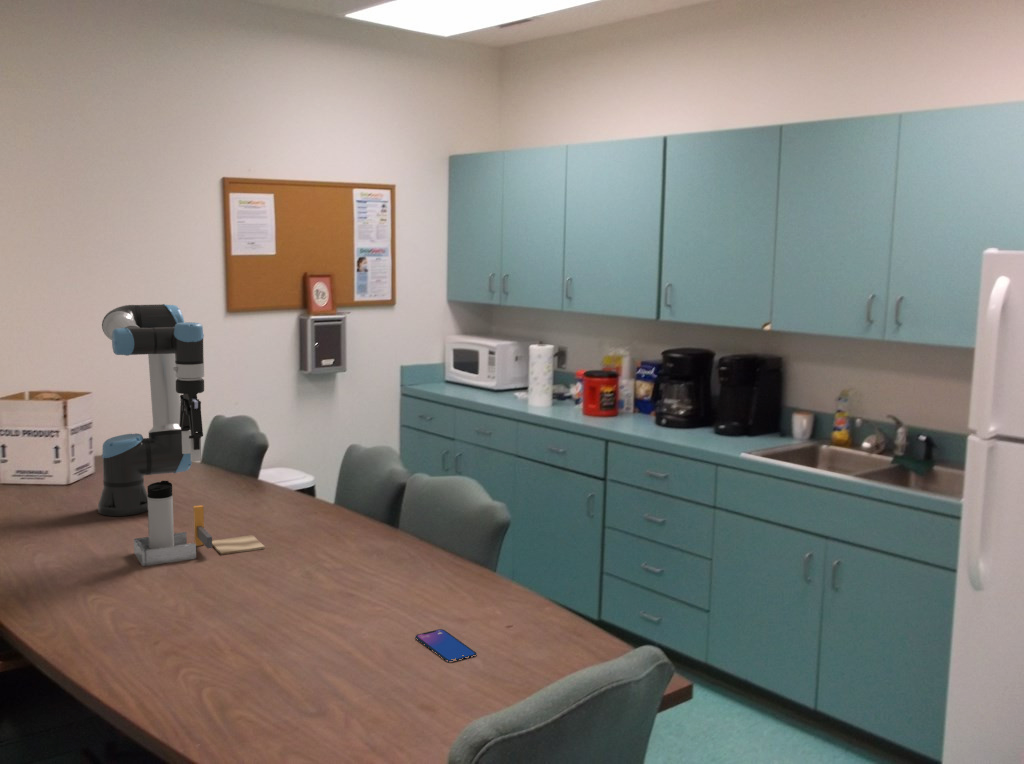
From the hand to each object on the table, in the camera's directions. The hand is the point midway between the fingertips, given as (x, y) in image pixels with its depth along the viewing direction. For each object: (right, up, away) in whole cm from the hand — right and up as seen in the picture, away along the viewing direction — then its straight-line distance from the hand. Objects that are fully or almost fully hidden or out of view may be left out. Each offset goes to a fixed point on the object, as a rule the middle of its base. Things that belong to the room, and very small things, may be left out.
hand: (191, 457), depth 265 cm
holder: (-3, -25, -13) cm, 29 cm away
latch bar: (+6, -25, -7) cm, 27 cm away
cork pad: (+14, -24, -3) cm, 28 cm away
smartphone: (+76, -35, -65) cm, 106 cm away
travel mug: (-3, -26, -13) cm, 29 cm away
